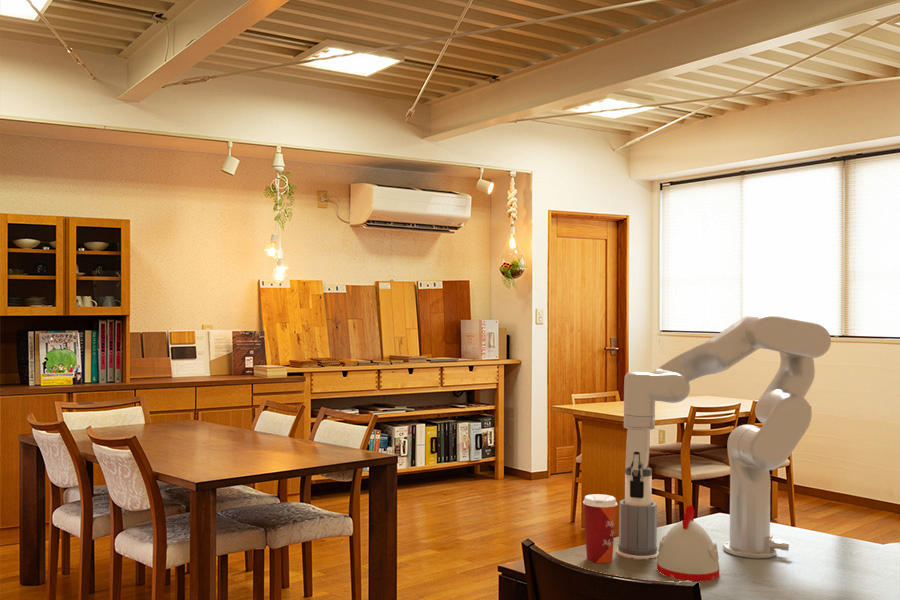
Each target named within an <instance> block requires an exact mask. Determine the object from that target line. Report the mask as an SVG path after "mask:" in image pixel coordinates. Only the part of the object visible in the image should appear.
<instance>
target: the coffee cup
mask: <svg viewBox="0 0 900 600" xmlns="http://www.w3.org/2000/svg"><path fill="white" fill-rule="evenodd" d="M582 503H583V507H584V509H583V510H584V527H585V531H584V532H585V549H586V560H587V561H588V562H591V563H595V564H610V563H611V562H612V561H613V555H614V542H615V541H614V540H615V539H614V538H615V526H616V511H617V506H618V501H617V499H616V497H615V496H613V495H609V494H600V493H597V494H595V493H593V494H588V495H587V494H586V495H585V496H584V500H583V501H582Z"/></svg>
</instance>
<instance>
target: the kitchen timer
mask: <svg viewBox="0 0 900 600" xmlns="http://www.w3.org/2000/svg"><path fill="white" fill-rule="evenodd" d="M695 511H696V510H695V509H694V505H692V504H691V505H690V504H689V505H687V506H686V507H685V513H684V514H683V519H682V520H681V521H679V522H677V523H675V524H674V525H673V526H671V528H670V529H669V530H668V531H667V533H666V534H665V535H663V536H662V538H661V540H660V541H659V547H658V549H657V550H658V557H656V570H657V569H658V570H657V572H658V571H659V572H661V573H662V574H664V575H663V576H665V575H666V576H665V577H667V576H668V577H667V578H670V577H671V578H670V579H674V578H675V580H678V579H680V581H684V580H689V581H688V582H707V581H708V582H709V581H713V580H716V579H717V578H719V577H720V560H719V559H720V558H719V557H720V556H719V552H718V547H717V542H715V543H714V542H713V540H712V539H711V537H710V535H709V534H708V532H707V531H706V529H704V527H702V526H701V525H700V524H699V523H698V522H695V521H694V518H695ZM659 572H658V573H659ZM661 573H660V574H661ZM662 574H661V575H662Z"/></svg>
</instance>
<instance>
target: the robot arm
mask: <svg viewBox="0 0 900 600" xmlns="http://www.w3.org/2000/svg"><path fill="white" fill-rule="evenodd" d="M831 345H832V339H831V335H830V332H829V331H828V330H827V329H826V328H825V327H824V326H823V325H821V324H820V323H819V324H818V323H815V322H809V321H803V320H799V319H792V318H787V317H783V316H778V315H773V314H767V313H765V314H763V313H762V314H761V313H759V314H758V313H755V314H754V313H753V314H748V315H746V316H744V317H742V318H740V319H739V320H737V321H736V322H735V323H732V324H731V325H730V326H728V327H726V328H725V329H723V330H722V331H720V332H719V333H717V334H716V335H714V336H713V337H712V338H709V339H708V340H707V341H705V342H703V343H701V344H698V345H696V346H695V347H693V348H691V349H688V350H687V351H684V352H682V353H680V354H678V355H677V356H674V357H673V358H671V359H670V360H668V361H667V362H665V363H663V364H662V365H660V366H658V367H657V368H656V369H654V370H653V371H652V372H647V371H630V372H627V373H626V374H625V375H624V382H623V383H624V384H623V429H627V431H626V444H625V445H626V446H625V448H626V449H625V467H626V468H627V469H629V467H631V480H630V497H633V498H643V496H644V481H643V470H645V469H646V467H648V466H649V457H650V442H651V441H650V439H651V438H650V437H651V435H650V433H651V430H655V428H656V427H655V426H656V425H655V424H656V402H662V403H663V402H664V403H670V404H671V403H672V404H677V403H681V402H684V400H686V399H687V398H688V396H689V394H690V392H691V385H690V382H692V381H694V380H695V379H698V378H702V377H704V376H710V375H715V374H719V373H722V372H725V371H727V370H729V369H730V368H732V367H733V366H734V365H736V364H738V363H739V362H741V361H742V360H744V359H746V358H747V357H748V356H750V355H752V354H753V353H755V352H756V351H758V350H759V349H763V350H764V349H765V350H769V351H770V350H771V351H775V352H778V353H779V355H780V364H779V368H778V370H777V372H776V374H775V375H774V377H773V378H772V380H771V382H770V383H769V385H768V386H767V387H766V389H765V390H764V392H763V393H762V394H761V395H760V398H759V399H758V401H757V402H756V404H755V407H754V414H755V417H756V418H757V420H758V421H759V422H760V423H761V424H762V426H761V427H760V426H756V425H754V424H742V425H739V426H736V427H735V428H734V429H733V430H732V431H731V432H730V434H729V436H728V438H727V445H726V446H727V448H726V449H727V455H728V456H727V457H728V462H729V473H730V474H729V475H730V476H729V480H730V481H729V483H730V485H729V487H730V488H729V540H728V541H725V542H724V543H722V549H723V551H725V552H726V553H728V554H731V555H733V556H737V557H742V558H747V559H770V558H773V557H775V556H776V555H777V550H781V551H786V552H789V548H790V543H789V542H786V541H785V540H781V539H775V538H773V534H774V533H771V485H772V484H771V482H772V481H771V473H770V471H773V470H776V469H778V468H780V467H781V466H782V465H784V464H785V462H786V461H787V460H788V458H789V457H790V456H791V454H792V453H793V451H795V448H796V447H797V446H798V444H799V443H800V441H801V439H802V438H803V437H804V435H805V433H806V432H807V430H808V429H809V427H810V425H811V421H812V417H813V414H812V413H813V412H812V408H811V405H810V403H809V402H808V401H807V399H805V397H806V395H807V393H808V392H809V390H810V389H811V387H812V385H813V383H814V379H815V372H816V371H815V361H814V359H816V358H820V357H822V356H824V355H825V354H826V353H827V352H828V351H829V350H830V347H831ZM639 467H641V468H639ZM639 471H640V472H639Z"/></svg>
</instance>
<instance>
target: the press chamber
mask: <svg viewBox="0 0 900 600" xmlns="http://www.w3.org/2000/svg"><path fill="white" fill-rule="evenodd" d="M618 506H619V511H618V513H619V515H618V518H619V519H618V522H619V523H618V545H617V548H616V553H617V555H619V556H621V557H624V558H625V559H626V558H627V559H631V558H633V560H641V559H645V560H650V559H649V558H653V559H655V558H654V557H656V558H658V557H657V556H658V554H659V552H658V550H659V549H658V547H657V546H658V545H657V537H658V536H657V531H658V530H657V527H658V525H657V524H658V520H657V519H658V513H657V512H658V504H657V503H656V501H653V500H651V506H631V505H627V504H625V498H624V499H621V500H619V505H618Z"/></svg>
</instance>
